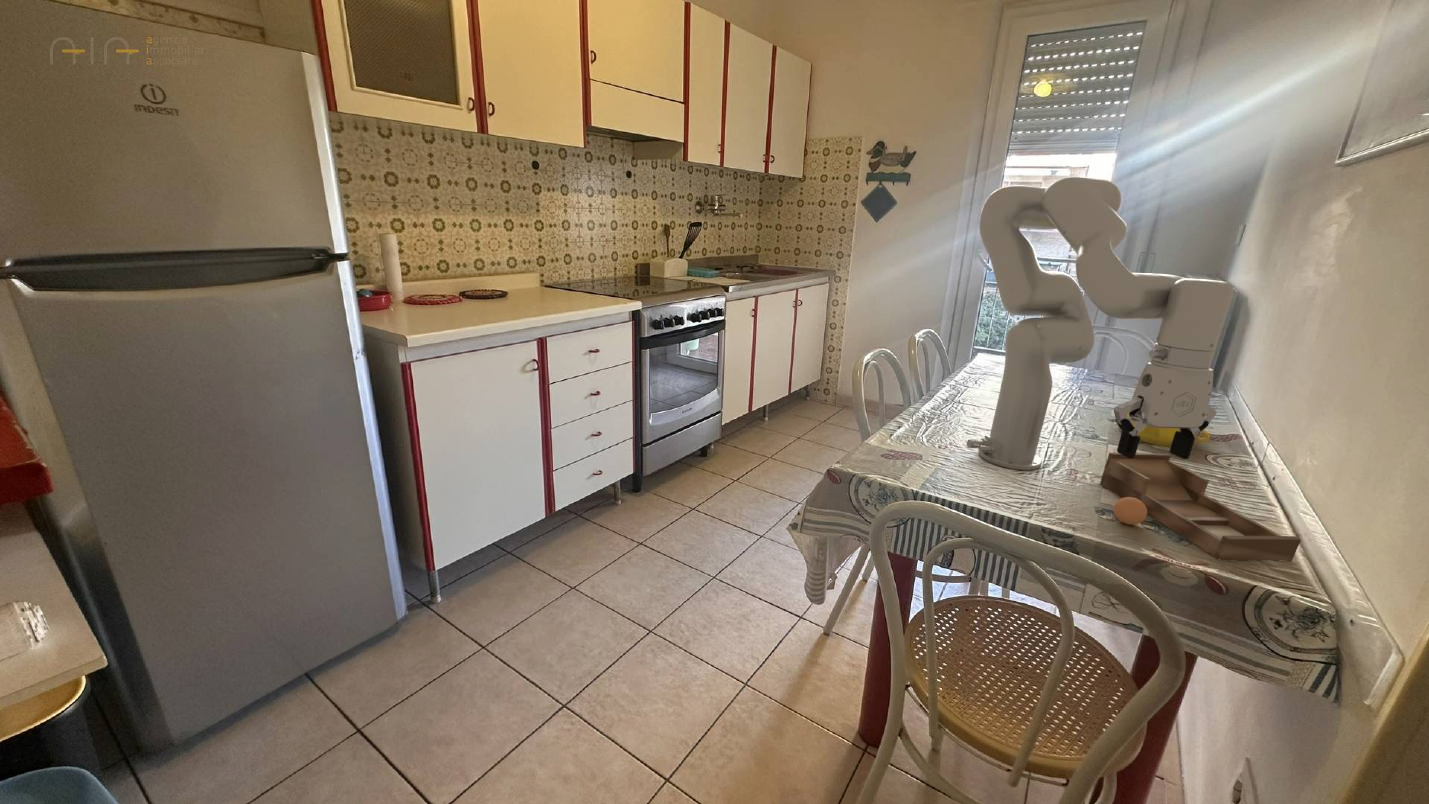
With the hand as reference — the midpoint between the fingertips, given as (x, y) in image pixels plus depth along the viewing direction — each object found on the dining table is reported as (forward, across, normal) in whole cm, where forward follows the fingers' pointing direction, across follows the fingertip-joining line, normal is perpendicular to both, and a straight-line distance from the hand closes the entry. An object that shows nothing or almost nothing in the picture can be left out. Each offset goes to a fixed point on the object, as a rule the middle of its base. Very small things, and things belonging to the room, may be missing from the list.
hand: (1151, 455), depth 95 cm
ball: (+11, 0, +1) cm, 11 cm away
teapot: (+13, +42, +42) cm, 61 cm away
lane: (+13, +13, +3) cm, 19 cm away
